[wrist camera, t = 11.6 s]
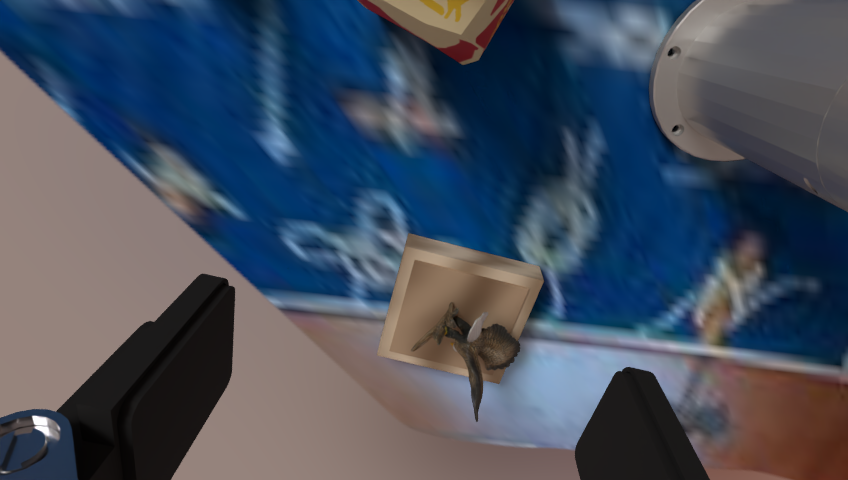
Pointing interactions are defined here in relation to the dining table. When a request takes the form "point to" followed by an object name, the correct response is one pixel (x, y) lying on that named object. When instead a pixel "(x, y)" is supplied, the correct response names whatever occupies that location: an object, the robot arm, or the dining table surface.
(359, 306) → the dining table surface
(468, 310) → the tan wooden tray
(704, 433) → the dining table surface
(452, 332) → the brown bird figurine
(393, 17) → the milk carton
